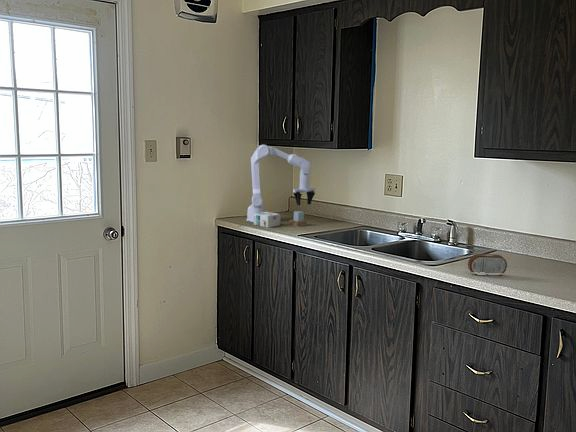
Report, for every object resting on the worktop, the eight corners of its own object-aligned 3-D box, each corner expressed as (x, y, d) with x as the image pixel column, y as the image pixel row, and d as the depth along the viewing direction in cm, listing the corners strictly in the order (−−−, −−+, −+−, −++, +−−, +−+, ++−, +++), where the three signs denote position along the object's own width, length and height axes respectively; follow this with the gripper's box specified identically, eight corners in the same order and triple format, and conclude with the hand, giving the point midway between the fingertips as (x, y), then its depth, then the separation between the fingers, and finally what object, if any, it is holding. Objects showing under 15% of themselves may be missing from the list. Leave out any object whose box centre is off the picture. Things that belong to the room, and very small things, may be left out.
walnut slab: (289, 225, 339) (289, 220, 339) (299, 224, 343) (299, 219, 343) (296, 227, 334) (297, 222, 333) (306, 226, 338) (307, 221, 337)
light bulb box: (268, 215, 326) (253, 213, 333) (267, 228, 327) (253, 225, 334) (280, 213, 334) (266, 211, 341) (280, 225, 335) (266, 222, 342)
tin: (503, 274, 239) (505, 254, 238) (507, 276, 236) (509, 255, 235) (466, 273, 239) (468, 253, 237) (469, 275, 236) (471, 254, 234)
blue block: (293, 220, 338) (293, 211, 338) (298, 219, 341) (299, 211, 340) (298, 221, 335) (298, 212, 335) (303, 220, 338) (303, 212, 337)
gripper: (298, 182, 337) (297, 206, 339) (318, 181, 345) (317, 204, 347) (291, 181, 343) (290, 204, 345) (311, 180, 351) (310, 203, 353)
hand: (303, 204), depth 347 cm, fingers open, 7 cm apart
